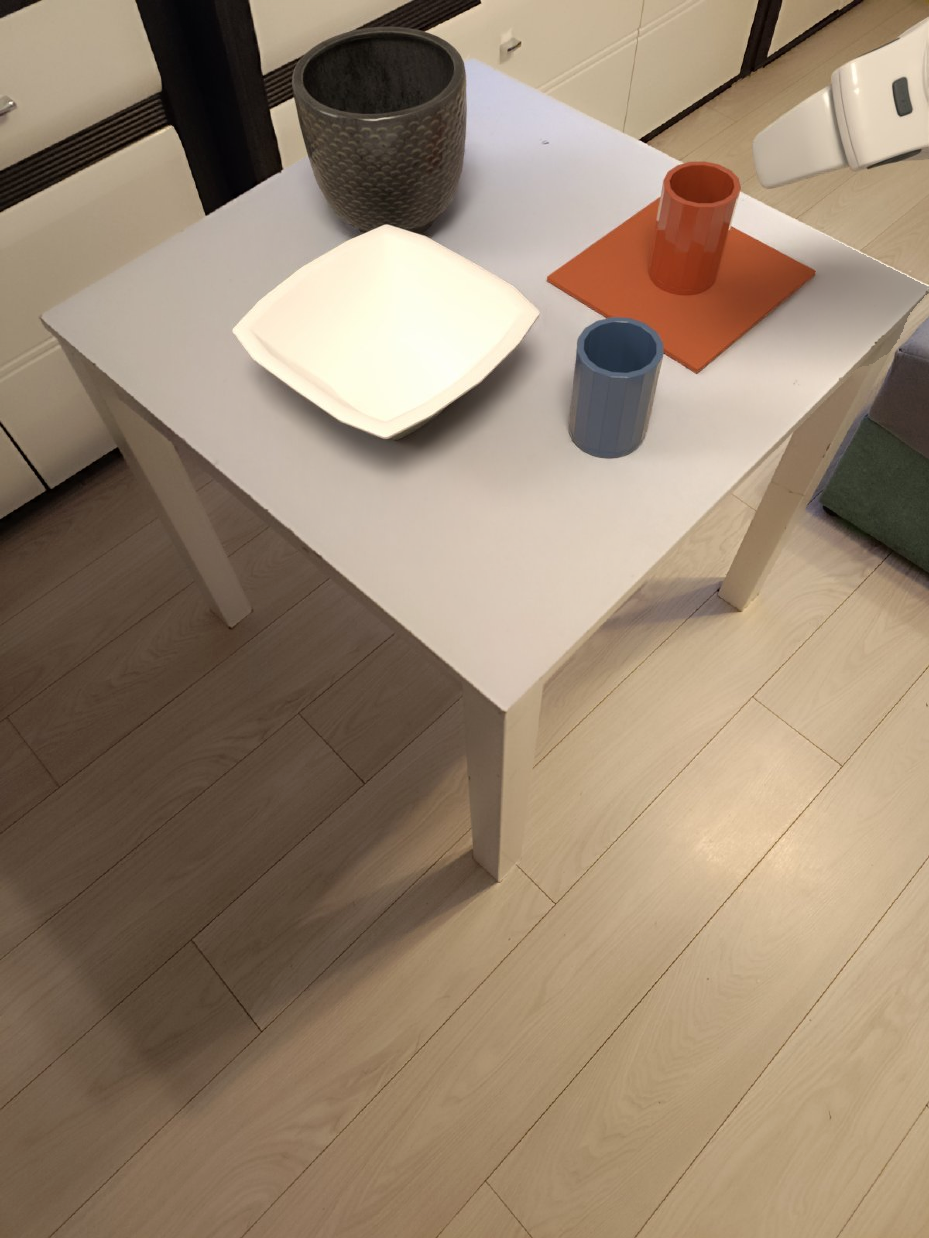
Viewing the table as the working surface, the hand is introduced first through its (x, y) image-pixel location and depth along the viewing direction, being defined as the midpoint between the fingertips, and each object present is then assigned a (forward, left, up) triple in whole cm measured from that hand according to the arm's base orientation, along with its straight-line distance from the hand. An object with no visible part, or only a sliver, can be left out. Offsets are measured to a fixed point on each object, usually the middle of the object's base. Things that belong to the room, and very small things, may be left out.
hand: (814, 153), depth 70 cm
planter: (+39, -16, -19) cm, 47 cm away
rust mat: (+7, -8, -19) cm, 22 cm away
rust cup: (+7, -9, -18) cm, 21 cm away
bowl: (+35, +10, -19) cm, 41 cm away
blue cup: (+14, +14, -19) cm, 27 cm away
